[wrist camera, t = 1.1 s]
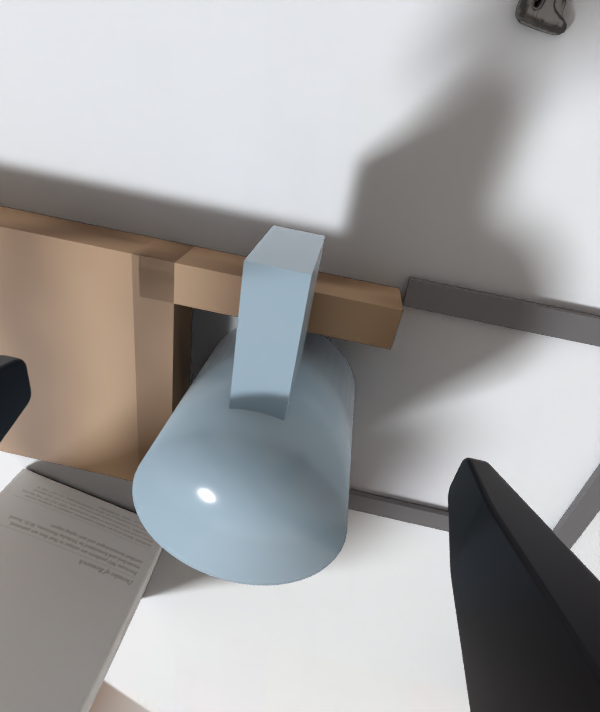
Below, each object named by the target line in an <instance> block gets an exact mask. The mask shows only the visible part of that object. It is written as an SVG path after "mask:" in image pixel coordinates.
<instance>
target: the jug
mask: <svg viewBox="0 0 600 712" xmlns="http://www.w3.org/2000/svg"><path fill="white" fill-rule="evenodd" d="M324 240H325V236H324V235H319V234H314V233H309V232H304V231H299V230H294V229H289V228H285V227H280V226H275V225H273V226H272V227H271V228H270V230H269V231H268V232H267V233H266V234H265V236H264V237H263V238H262V239H261V240H260V242H259V243H258V244H257V245H256V246H255V248H254V249H253V250H252V251H251V253H250V254H249V255H248V256H247V257H246V259H245V260H244V265H243V275H242V285H241V295H240V305H239V314H238V324H237V328H236V329H234V330H232V331H231V332H230V333H228V334H227V335H226V336H225V337H224V338H223V339H222V340H221V341H220V342H219V343H218V344H217V346H216V347H215V348H214V350H213V352H212V353H211V355H210V356H209V358H208V359H207V361H206V362H205V364H204V365H203V367H202V369H201V370H200V372H199V373H198V375H197V376H196V378H195V379H194V381H193V383H192V384H191V386H190V387H189V389H188V390H187V392H186V393H185V395H184V396H183V398H182V400H181V401H180V403H179V404H178V406H177V407H176V409H175V410H174V412H173V413H172V415H171V417H170V418H169V420H168V421H167V423H166V424H165V426H164V427H163V429H162V430H161V432H160V434H159V435H158V437H157V438H156V440H155V441H154V443H153V444H152V446H151V447H150V449H149V451H148V452H147V454H146V455H145V457H144V458H143V460H142V461H141V463H140V465H139V466H138V469H137V471H136V473H135V476H134V480H133V488H132V495H133V502H134V506H135V509H136V512H137V514H138V516H139V519H140V521H141V523H142V524H143V526H144V527H145V529H146V530H147V532H148V533H149V534H150V535H151V536H152V538H153V539H154V540H155V541H156V542H157V543H158V544H159V545H160V546H161V547H162V548H163V549H165V550H166V551H167V552H168V553H170V554H171V555H172V556H174V557H175V558H177V559H178V560H180V561H181V562H183V563H185V564H186V565H188V566H190V567H192V568H194V569H196V570H198V571H200V572H203V573H205V574H208V575H210V576H213V577H216V578H219V579H223V580H226V581H231V582H236V583H241V584H249V585H279V584H286V583H291V582H295V581H299V580H302V579H305V578H308V577H310V576H312V575H314V574H316V573H318V572H320V571H321V570H323V569H324V568H325V567H327V566H328V565H329V564H330V563H331V562H332V561H333V560H334V559H335V558H336V556H337V555H338V554H339V552H340V551H341V549H342V546H343V544H344V542H345V538H346V533H347V518H348V501H349V483H350V465H351V448H352V430H353V413H354V395H355V385H354V378H353V374H352V371H351V368H350V366H349V364H348V362H347V360H346V359H345V357H344V355H343V354H342V353H341V351H340V350H339V349H338V348H337V347H336V346H335V345H334V344H333V343H332V342H331V341H330V340H329V339H328V338H326V337H325V336H323V335H320V334H315V333H310V332H307V328H308V323H309V318H310V313H311V307H312V302H313V297H314V292H315V287H316V282H317V276H318V271H319V266H320V261H321V256H322V251H323V245H324Z"/></svg>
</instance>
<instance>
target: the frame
mask: <svg viewBox="0 0 600 712" xmlns="http://www.w3.org/2000/svg"><path fill="white" fill-rule="evenodd" d="M403 306H407V307H412V308H417V309H422V310H427V311H431V312H436V313H441V314H446V315H451V316H455V317H460V318H465V319H470V320H475V321H479V322H484V323H489V324H494V325H499V326H503V327H508V328H513V329H518V330H523V331H527V332H532V333H537V334H542V335H547V336H551V337H556V338H561V339H566V340H571V341H575V342H580V343H585V344H590V345H595V346H599V347H600V316H596V315H591V314H586V313H582V312H577V311H572V310H567V309H562V308H557V307H552V306H548V305H543V304H538V303H533V302H528V301H523V300H518V299H514V298H509V297H504V296H499V295H494V294H489V293H484V292H480V291H475V290H470V289H465V288H460V287H455V286H450V285H446V284H441V283H436V282H431V281H426V280H421V279H416V278H411V277H410V280H409V283H408V286H407V290H406V293H405V296H404V299H403ZM348 509H352V510H356V511H360V512H365V513H369V514H374V515H378V516H382V517H387V518H391V519H396V520H400V521H404V522H409V523H413V524H417V525H422V526H426V527H431V528H435V529H439V530H444V531H448V532H449V513H448V512H447V511H443V510H438V509H434V508H430V507H425V506H421V505H416V504H412V503H408V502H403V501H399V500H394V499H390V498H385V497H381V496H377V495H372V494H368V493H363V492H359V491H354V490H350V489H349V501H348ZM599 510H600V464H599V466H598V467H597V469H596V470H595V471H594V473H593V474H592V476H591V477H590V478H589V480H588V481H587V483H586V484H585V486H584V487H583V488H582V490H581V491H580V493H579V494H578V495H577V497H576V498H575V500H574V501H573V503H572V504H571V505H570V507H569V508H568V510H567V511H566V512H565V514H564V515H563V517H562V518H561V519H560V521H559V522H558V524H557V525H556V527H555V528H554V529H553V532H554V533H555V534H556V535H557V536H558V537H559V538H560V540H561V541H562V542H563V543H564V544H565V545H566V546H567V547H568V548H569V549H570V548H571V547H572V546H573V544H574V543H575V542H576V540H577V539H578V538H579V536H580V535H581V534H582V533H583V531H584V530H585V529H586V527H587V526H588V525H589V523H590V522H591V521H592V519H593V518H594V517H595V516H596V514H597V513H598V512H599Z"/></svg>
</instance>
